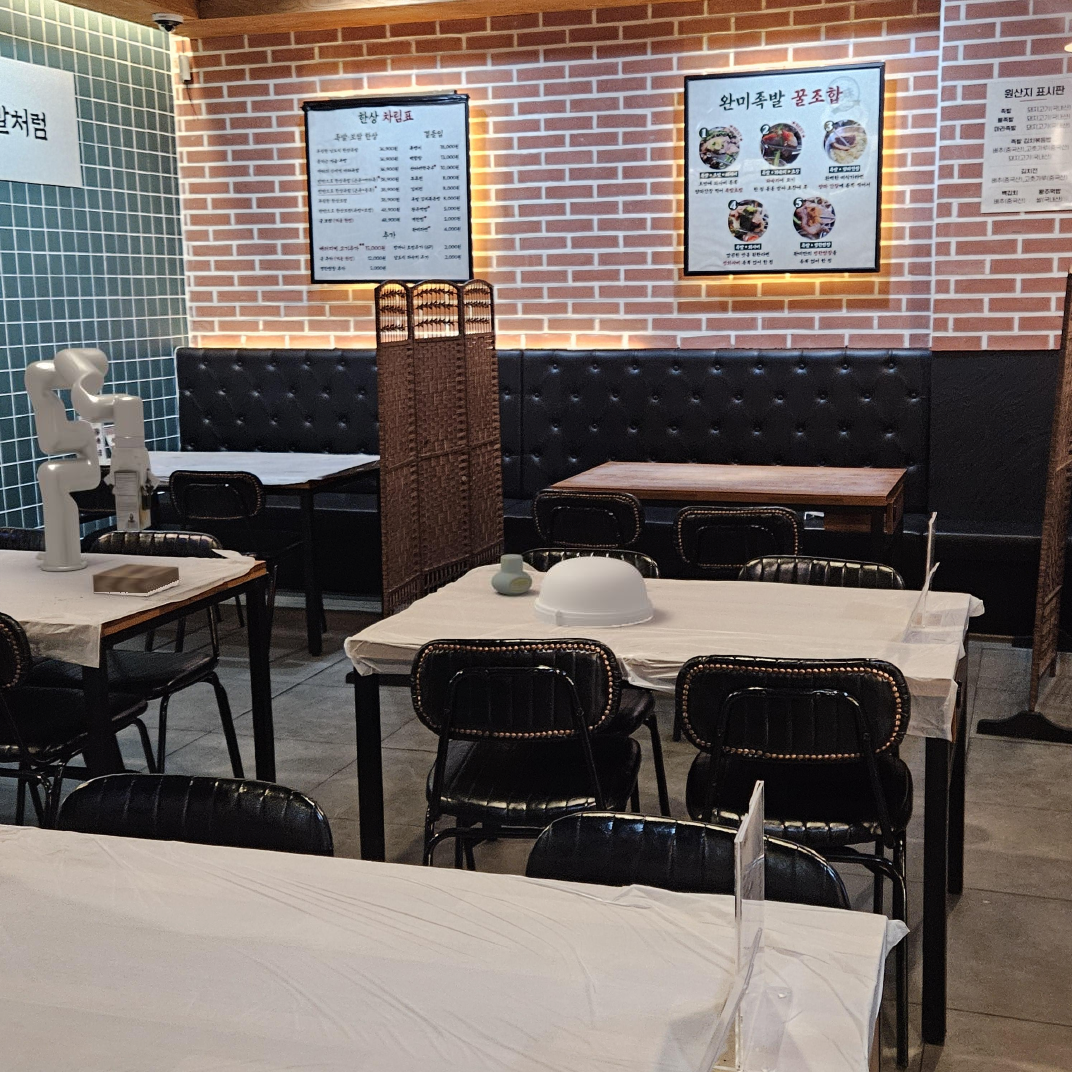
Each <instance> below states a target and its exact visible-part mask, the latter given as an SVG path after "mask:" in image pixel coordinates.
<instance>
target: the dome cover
mask: <svg viewBox="0 0 1072 1072" xmlns="http://www.w3.org/2000/svg"><path fill="white" fill-rule="evenodd" d="M652 615H653V616H654V605H653V602H652V600H651V599H650V598H649V597H648V590H647V585H646V581H645V580H644V577H643V576H642V574H641V572H640V571H639V570H638V568H636V567H635V566H634V565H633V564H630V563H629V562H626V561H625V560H621V559H617V558H613V557H606V556H580V557H574V558H573V557H572V558H568V559H565V560H562V561H559V562H557V563H555V564H554V565H552V567H550V569H548V571H547V572H546V574H545V575H544V576H543V579H542V582H541V585H540V589H539V596H538V597H536V598H535V600H534V603H533V613H532V616H533V617H534V616H535V617H536V618H535V617H534V618H535V619H537V620H538V619H539V621H540V620H541V621H540V622H543V621H544V623H546V622H549V623H548V624H550V623H552V624H551V625H557V626H556V627H559V626H558V625H568V626H612V625H622V624H629V623H635V622H639V621H643V620H645V619H648V618H649V617H651V616H652Z"/></svg>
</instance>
